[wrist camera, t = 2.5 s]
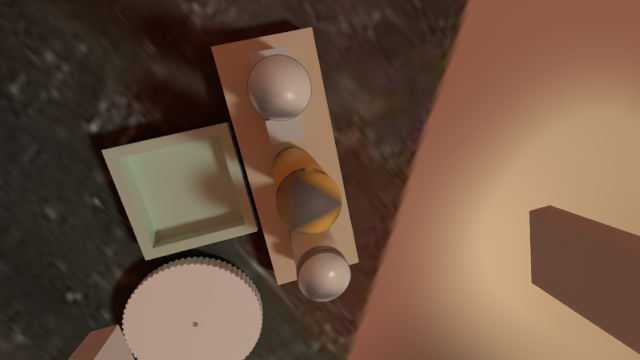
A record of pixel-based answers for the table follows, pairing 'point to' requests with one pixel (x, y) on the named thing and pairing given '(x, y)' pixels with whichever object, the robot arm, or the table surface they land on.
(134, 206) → the tray
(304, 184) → the cylinder
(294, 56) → the block
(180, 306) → the plastic lid
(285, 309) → the table surface
